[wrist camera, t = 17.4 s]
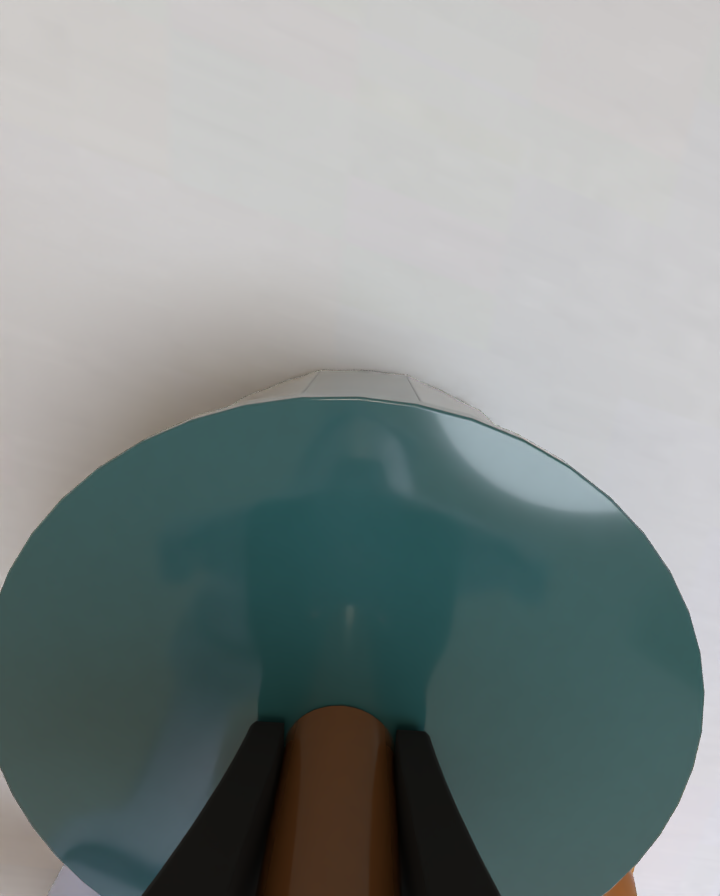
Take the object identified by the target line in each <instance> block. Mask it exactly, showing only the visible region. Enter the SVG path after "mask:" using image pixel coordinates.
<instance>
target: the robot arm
mask: <svg viewBox="0 0 720 896" xmlns="http://www.w3.org/2000/svg"><path fill="white" fill-rule="evenodd" d="M283 751H284V723H279V722H262V721H256V722H254V723H253V724H252V725H251V726H250V728H249V730H248V732H247V734H246V736H245V738H244V740H243V742H242V744H241V746H240V748H239V750H238V751H237V753H236V755H235V757H234V759H233V760H232V762H231V764H230V765H229V767H228V769H227V771H226V772H225V774H224V776H223V777H222V779H221V781H220V782H219V784H218V786H217V787H216V789H215V790H214V792H213V793H212V795H211V797H210V798H209V800H208V801H207V803H206V804H205V806H204V808H203V809H202V811H201V812H200V814H199V815H198V817H197V818H196V820H195V821H194V823H193V824H192V826H191V827H190V829H189V830H188V832H187V833H186V835H185V836H184V837H183V839H182V840H181V842H180V843H179V845H178V846H177V847H176V849H175V850H174V852H173V853H172V854H171V856H170V857H169V859H168V860H167V862H166V863H165V864H164V866H163V867H162V869H161V870H160V871H159V873H158V874H157V875H156V877H155V878H154V879H153V881H152V882H151V883H150V885H149V886H148V887H147V889H146V890H145V891H144V893H143V894H142V895H141V896H255V893H256V888H257V883H258V877H259V872H260V867H261V862H262V857H263V852H264V847H265V842H266V836H267V831H268V826H269V821H270V816H271V811H272V806H273V801H274V797H275V792H276V787H277V781H278V776H279V771H280V766H281V761H282V756H283ZM394 759H395V777H396V795H397V809H398V825H399V843H400V860H401V878H402V896H501V895H500V893H499V891H498V889H497V887H496V885H495V883H494V881H493V880H492V878H491V876H490V874H489V872H488V870H487V868H486V866H485V864H484V862H483V860H482V858H481V856H480V854H479V852H478V850H477V848H476V846H475V844H474V842H473V840H472V838H471V836H470V834H469V832H468V830H467V827H466V825H465V823H464V821H463V819H462V817H461V815H460V813H459V810H458V808H457V806H456V804H455V801H454V799H453V797H452V794H451V792H450V790H449V787H448V785H447V782H446V780H445V778H444V775H443V773H442V770H441V767H440V765H439V762H438V759H437V757H436V754H435V751H434V748H433V745H432V742H431V739H430V736H429V735H428V734H427V733H426V732H425V731H412V730H397V732H396V742H395V753H394ZM47 896H100V895H99V894H98V893H96V892H95V891H94V890H92V889H91V888H90V887H89V886H87V885H86V884H85V883H83V882H82V881H81V880H80V879H79V878H78V877H77V876H76V875H75V874H74V873H73V872H72V871H71V870H70V869H69V868H68V867H67V866H66V865H65V864H64V865H63V867H62V869H61V870H60V872H59V874H58V876H57V878H56V879H55V881H54V883H53V885H52V887H51V889H50V890H49V892H48V894H47Z"/></svg>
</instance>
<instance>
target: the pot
mask: <svg viewBox="0 0 720 896" xmlns="http://www.w3.org/2000/svg"><path fill="white" fill-rule="evenodd" d="M301 393H365V394H373V395H381V396H389V397H398V398H406V399H414V400H418V401H422V402H426V403H430V404H433V405H437V406H441V407H445V408H449V409H453V410H457V411H460V412H464V413H468V414H470V415H473V416H475V417H478V418H480V419H483V420H485V421H488V422H490V423H493V422H492V421H491V420H490V419H489V418H488V417H486V416H485V415H484V414H483V413H482V412H481V411H480V410H478V409H476V408H474V407H472V406H470V405H468V404H466V403H464V402H462V401H460V400H458V399H456V398H454V397H452V396H451V395H449V394H447V393H445V392H444V391H442V390H440V389H437V388H435V387H432V386H430V385H427V384H425V383H423V382H421V381H419V380H417V379H415V378H413V377H411V376H409V375H404V374H392V373H384V372H376V371H368V370H318V371H315V372H312V373H309V374H307V375H304V376H301V377H297V378H294V379H290V380H287V381H283V382H281V383H279V384H277V385H274V386H272V387H270V388H267V389H264V390H261V391H259V392H256V393H253V394H250V395H247V396H245V397H243V398H241V399H240V400H238V401H237V402H236V403H234V404H233V405H236V404H239V403H243V402H247V401H251V400H258V399H265V398H273V397H280V396H287V395H294V394H301ZM231 406H232V405H231ZM493 424H494V423H493Z"/></svg>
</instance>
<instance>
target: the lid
mask: <svg viewBox="0 0 720 896" xmlns="http://www.w3.org/2000/svg"><path fill="white" fill-rule="evenodd" d="M703 706H704V684H703V674H702V664H701V654H700V650H699V646H698V642H697V639H696V635H695V632H694V628H693V624H692V621H691V617H690V614H689V610H688V608H687V606H686V604H685V602H684V600H683V598H682V595H681V593H680V591H679V589H678V587H677V585H676V583H675V580H674V578H673V576H672V574H671V572H670V570H669V569H668V567H667V566H666V564H665V563H664V561H663V560H662V559H661V557H660V556H659V554H658V553H657V551H656V550H655V548H654V547H653V545H652V544H651V542H650V541H649V540H648V538H647V537H646V535H645V534H644V532H643V531H642V530H641V529H640V528H639V527H638V526H637V525H636V524H635V523H634V522H633V521H632V520H631V519H630V518H629V517H628V515H627V514H626V513H625V512H624V511H623V510H622V509H621V508H620V507H619V506H618V505H617V504H616V503H615V502H614V501H613V500H612V498H611V497H609V496H608V495H607V494H605V493H604V492H603V491H602V490H600V489H599V488H598V487H597V486H595V485H594V484H593V483H591V482H590V481H589V480H588V479H586V478H585V477H584V476H583V475H581V474H580V473H579V472H577V471H576V470H575V469H574V468H572V467H571V466H570V465H569V464H567V463H566V462H565V461H563V460H562V459H560V458H559V457H557V456H555V455H554V454H552V453H550V452H548V451H547V450H545V449H543V448H541V447H540V446H538V445H536V444H535V443H533V442H531V441H529V440H528V439H526V438H524V437H522V436H521V435H519V434H517V433H515V432H512V431H510V430H507V429H505V428H502V427H500V426H497V425H495V424H493V423H490V422H488V421H485V420H483V419H480V418H478V417H475V416H473V415H470V414H468V413H464V412H460V411H457V410H453V409H449V408H445V407H441V406H437V405H433V404H430V403H426V402H422V401H418V400H414V399H406V398H398V397H389V396H381V395H373V394H365V393H301V394H294V395H287V396H280V397H273V398H265V399H258V400H251V401H247V402H243V403H239V404H236V405H232V406H229V407H225V408H221V409H218V410H214V411H211V412H207V413H203V414H200V415H197V416H195V417H192V418H190V419H188V420H185V421H183V422H181V423H179V424H176V425H174V426H172V427H169V428H167V429H165V430H162V431H160V432H158V433H155V434H153V435H151V436H149V437H147V438H146V439H144V440H142V441H141V442H139V443H137V444H136V445H134V446H133V447H131V448H129V449H128V450H126V451H124V452H123V453H121V454H120V455H118V456H116V457H115V458H113V459H111V460H110V461H108V462H107V463H105V464H103V465H102V466H100V467H99V468H97V469H96V470H95V471H94V472H93V473H91V474H90V475H89V476H88V477H87V478H86V479H84V480H83V481H82V482H81V483H80V484H78V485H77V486H76V487H75V488H74V489H73V490H71V491H70V492H69V493H68V494H67V495H65V496H64V497H63V498H62V499H61V500H60V501H59V502H58V504H57V505H56V506H55V507H54V508H53V509H52V511H51V512H50V513H49V514H48V515H47V516H46V517H45V519H44V520H43V521H42V522H41V523H40V524H39V526H38V527H37V528H36V529H35V530H34V531H33V533H32V534H31V535H30V537H29V539H28V540H27V542H26V544H25V545H24V547H23V549H22V550H21V552H20V553H19V555H18V557H17V558H16V560H15V562H14V563H13V565H12V567H11V568H10V570H9V572H8V574H7V577H6V579H5V582H4V584H3V587H2V589H1V592H0V768H1V770H2V773H3V775H4V777H5V779H6V782H7V784H8V786H9V788H10V791H11V793H12V795H13V797H14V798H15V800H16V802H17V803H18V805H19V806H20V808H21V810H22V811H23V813H24V814H25V816H26V818H27V819H28V821H29V822H30V824H31V826H32V827H33V828H34V830H35V831H36V832H37V833H38V835H39V836H40V837H41V838H42V840H43V841H44V842H45V843H46V844H47V846H48V847H49V848H50V849H51V851H52V852H53V853H54V854H55V856H56V857H57V858H58V859H60V860H61V861H62V862H63V863H64V864H65V865H66V866H67V867H68V868H69V869H70V870H71V871H72V872H73V873H74V874H75V875H76V876H77V877H78V878H79V879H80V880H81V881H82V882H83V883H85V884H86V885H87V886H89V887H90V888H91V889H92V890H94V891H95V892H96V893H98V894H99V895H100V896H141V895H142V894H143V893H144V891H145V890H146V889H147V887H148V886H149V885H150V883H151V882H152V881H153V879H154V878H155V877H156V875H157V874H158V873H159V871H160V870H161V869H162V867H163V866H164V864H165V863H166V862H167V860H168V859H169V857H170V856H171V854H172V853H173V852H174V850H175V849H176V847H177V846H178V845H179V843H180V842H181V840H182V839H183V837H184V836H185V835H186V833H187V832H188V830H189V829H190V827H191V826H192V824H193V823H194V821H195V820H196V818H197V817H198V815H199V814H200V812H201V811H202V809H203V808H204V806H205V804H206V803H207V801H208V800H209V798H210V797H211V795H212V793H213V792H214V790H215V789H216V787H217V786H218V784H219V782H220V781H221V779H222V777H223V776H224V774H225V772H226V771H227V769H228V767H229V765H230V764H231V762H232V760H233V759H234V757H235V755H236V753H237V751H238V750H239V748H240V746H241V744H242V742H243V740H244V738H245V736H246V734H247V732H248V730H249V728H250V726H251V725H252V724H253V723H254V722H256V721H262V722H279V723H284V751H283V756H282V761H281V766H280V771H279V776H278V781H277V787H276V792H275V797H274V801H273V806H272V811H271V816H270V821H269V826H268V831H267V836H266V842H265V847H264V852H263V857H262V862H261V867H260V872H259V877H258V883H257V888H256V893H255V896H402V878H401V860H400V843H399V825H398V809H397V795H396V777H395V759H394V753H395V742H396V732H397V730H412V731H425V732H426V733H427V734H428V735H429V736H430V739H431V742H432V745H433V748H434V751H435V754H436V757H437V759H438V762H439V765H440V767H441V770H442V773H443V775H444V778H445V780H446V782H447V785H448V787H449V790H450V792H451V794H452V797H453V799H454V801H455V804H456V806H457V808H458V810H459V813H460V815H461V817H462V819H463V821H464V823H465V825H466V827H467V830H468V832H469V834H470V836H471V838H472V840H473V842H474V844H475V846H476V848H477V850H478V852H479V854H480V856H481V858H482V860H483V862H484V864H485V866H486V868H487V870H488V872H489V874H490V876H491V878H492V880H493V881H494V883H495V885H496V887H497V889H498V891H499V893H500V895H501V896H603V895H604V894H605V893H607V892H608V891H609V890H611V889H612V888H613V887H614V886H615V885H616V884H617V883H618V882H619V881H620V880H621V879H622V878H623V877H624V876H625V875H626V874H627V873H628V872H629V871H630V870H631V869H632V868H633V867H634V866H635V865H636V864H637V863H638V862H639V861H640V859H641V858H642V857H643V856H644V854H645V853H646V852H647V851H648V849H649V848H650V847H651V846H652V844H653V843H654V842H655V841H656V839H657V838H658V837H659V836H660V834H661V833H662V831H663V829H664V827H665V826H666V824H667V822H668V821H669V819H670V817H671V816H672V814H673V812H674V811H675V809H676V807H677V806H678V804H679V802H680V799H681V797H682V794H683V792H684V789H685V787H686V785H687V782H688V780H689V777H690V775H691V772H692V770H693V767H694V762H695V758H696V754H697V750H698V745H699V741H700V737H701V733H702V721H703Z"/></svg>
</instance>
